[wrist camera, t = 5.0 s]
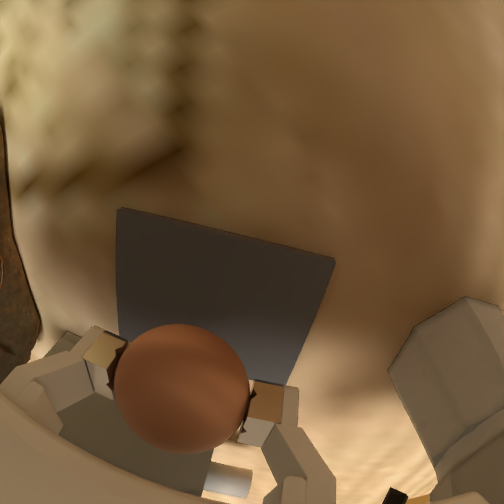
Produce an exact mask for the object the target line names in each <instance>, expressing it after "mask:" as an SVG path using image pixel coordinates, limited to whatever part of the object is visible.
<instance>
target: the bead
mask: <svg viewBox="0 0 504 504" xmlns="http://www.w3.org/2000/svg"><path fill="white" fill-rule="evenodd" d="M114 392H115V398H116V402H117V405H118V408H119V411H120V413H121V415H122V417H123V419H124V420H125V422H126V423H127V425H128V426H129V427H130V428H131V430H132V431H133V432H134V433H135V434H136V435H138V436H139V437H140V438H141V439H142V440H144V441H145V442H147V443H148V444H150V445H152V446H154V447H156V448H158V449H161V450H164V451H167V452H171V453H179V454H193V453H200V452H204V451H208V450H210V449H213V448H215V447H217V446H219V445H220V444H222V443H223V442H225V441H226V440H228V439H229V438H230V437H231V436H232V435H233V434H234V433H235V432H236V431H237V429H238V428H239V427H240V425H241V423H242V421H243V419H244V417H245V415H246V411H247V408H248V405H249V398H250V387H249V381H248V376H247V373H246V370H245V367H244V365H243V363H242V361H241V360H240V358H239V356H238V355H237V354H236V352H235V351H234V350H233V348H232V347H231V346H230V345H229V344H228V343H226V342H225V341H224V340H223V339H221V338H220V337H218V336H217V335H216V334H214V333H212V332H210V331H208V330H206V329H203V328H200V327H197V326H192V325H186V324H169V325H163V326H159V327H156V328H153V329H151V330H149V331H147V332H145V333H143V334H142V335H140V336H139V337H137V338H136V339H135V340H134V341H133V342H132V343H131V344H130V345H129V346H128V347H127V348H126V350H125V351H124V353H123V354H122V356H121V358H120V360H119V363H118V365H117V368H116V372H115V377H114Z"/></svg>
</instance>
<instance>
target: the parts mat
mask: <svg viewBox="0 0 504 504" xmlns="http://www.w3.org/2000/svg"><path fill="white" fill-rule="evenodd" d="M334 266H335V260H334V258H330V257H326V256H322V255H318V254H314V253H311V252H307V251H303V250H299V249H295V248H291V247H287V246H283V245H279V244H275V243H271V242H267V241H263V240H258V239H254V238H250V237H246V236H242V235H238V234H234V233H230V232H226V231H222V230H217V229H213V228H209V227H205V226H201V225H197V224H192V223H188V222H184V221H180V220H175V219H171V218H167V217H163V216H158V215H154V214H150V213H145V212H141V211H137V210H132V209H128V208H124V207H122V208H120V209H118V210H117V221H116V291H117V310H118V324H119V335H120V337H122V338H125V339H127V340H129V341H131V343H132V342H133V341H134V340H135V339H136V338H137V337H139V336H140V335H142V334H143V333H145V332H147V331H149V330H151V329H153V328H156V327H159V326H163V325H169V324H186V325H192V326H197V327H200V328H203V329H206V330H208V331H210V332H212V333H214V334H216V335H217V336H218V337H220V338H221V339H223V340H224V341H225V342H226V343H228V344H229V345H230V346H231V347H232V348H233V350H234V351H235V352H236V354H237V355H238V356H239V358H240V360H241V361H242V363H243V365H244V367H245V370H246V373H247V376H248V379H249V380H253V381H254V379H258V380H263V381H268V382H273V383H278V384H283V385H286V383H287V381H288V378H289V376H290V374H291V372H292V370H293V368H294V365H295V363H296V361H297V359H298V356H299V354H300V352H301V350H302V347H303V345H304V343H305V340H306V338H307V336H308V333H309V331H310V328H311V326H312V323H313V321H314V319H315V316H316V314H317V311H318V309H319V306H320V304H321V301H322V298H323V296H324V293H325V291H326V288H327V285H328V283H329V280H330V277H331V275H332V272H333V269H334Z"/></svg>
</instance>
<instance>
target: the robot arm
mask: <svg viewBox="0 0 504 504" xmlns="http://www.w3.org/2000/svg"><path fill="white" fill-rule="evenodd" d="M130 344H131V341H129V340H127V339H125V338H122V337H120V336H118V335H116V334H113V333H111V332H109V331H107V330H104V329H102V328H100V327H97V326H93V327H91V328H90V329H89V330H88V332H87V333H86V334H85V335H84V336H83V337H82V338H81V339H80V341H79V342H78V343H77V344H76V345H75V346H74V347H73V349H72V350H71V351H70V352H68V351H64V352H61V353H58V354H54V355H51V356H48V357H45V358H42V359H39V360H36V361H33V362H30V363H26V364H23V365H20V366H17V367H15V369H14V370H13V371H12V372H11V373H10V374H9V375H8V376H7V377H6V379H5V380H4V381H3V382H2V383H1V384H0V504H229V503H224V502H219V501H215V500H211V499H207V498H203V497H199V496H195V495H192V494H188V493H185V492H182V491H178V490H175V489H172V488H169V487H166V486H163V485H160V484H157V483H155V482H152V481H149V480H147V479H144V478H142V477H139V476H137V475H134V474H132V473H129V472H127V471H125V470H123V469H120V468H118V467H116V466H114V465H112V464H110V463H108V462H106V461H104V460H101V459H100V458H98V457H96V456H94V455H92V454H90V453H88V452H86V451H84V450H83V449H81V448H79V447H77V446H76V445H74V444H72V443H70V442H69V441H67V440H65V439H64V438H62V437H61V436H59V435H58V434H59V432H60V430H61V429H62V427H63V423H62V421H61V419H60V417H59V416H58V414H57V412H58V411H60V410H62V409H64V408H66V407H68V406H70V405H72V404H74V403H76V402H78V401H80V400H82V399H84V398H85V397H87V396H89V395H91V394H93V393H94V392H96V393H98V394H100V395H103V396H105V397H107V398H109V399H112V400H115V392H114V377H115V372H116V368H117V365H118V363H119V360H120V358H121V356H122V354H123V353H124V351H125V350H126V348H127V347H128V346H129V345H130ZM298 406H299V389H298V388H297V387H292V386H287V385H283V384H278V383H273V382H268V381H263V380H258V379H254V381H253V384H252V387H251V392H250V398H249V405H248V408H247V411H246V415H245V417H244V419H243V421H242V424H241V427H240V431H239V436H238V441H237V442H239V443H243V444H248V445H252V446H257V447H261V450H262V452H263V454H264V456H265V458H266V461H267V463H268V465H269V467H270V469H271V471H272V474H273V476H274V478H275V480H276V482H277V484H278V485H277V486H276V487H275V488H274V489H273V490H272V491H271V492H270V493H269V494H267V495H266V496H265V497H264V499H263V504H336V478H335V476H334V475H333V474H332V472H331V471H330V469H329V468H328V466H327V465H326V463H325V462H324V460H323V459H322V458H321V456H320V455H319V453H318V452H317V450H316V449H315V447H314V446H313V444H312V443H311V441H310V440H309V438H308V437H307V435H306V434H305V432H304V430H303V429H302V428H300V427H297V426H298ZM425 504H490V503H489V502H488V501H487V500H486V499H485V498H484V497H483V496H481V495H480V494H479V493H478V492H474V491H471V492H467V493H463V494H460V495H457V496H453V497H450V498H446V499H442V500H438V501H434V502H430V503H425Z"/></svg>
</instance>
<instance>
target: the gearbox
mask: <svg viewBox="0 0 504 504" xmlns="http://www.w3.org/2000/svg"><path fill="white" fill-rule="evenodd" d="M80 339H81V337H79V336H77V335H74V334H72V333H70V332H68V331H67V333H66V334H65V335H64V336H63V337H62V338H61V339H60V340H59V341H58V342H57V343H56V344H55V345H54V346H53V347H52V349H51V350H50V351H49V352H48V353H47V354H46V355H45V356H44V357H43V358H45V357H48V356H51V355H54V354H58V353H61V352H64V351H68V352H70V351H71V350H72V349H73V347H74V346H75V345H76V344H77V343H78V342H79V341H80ZM57 414H58V416H59V417H60V419H61V421H62V423H63V427H62V429H61V430H60V432H59V434H58V435H59V436H61V437H62V438H64V439H65V440H67V441H69V442H70V443H72V444H74V445H76V446H77V447H79V448H81V449H83V450H84V451H86V452H88V453H90V454H92V455H94V456H96V457H98V458H100V459H101V460H104V461H106V462H108V463H110V464H112V465H114V466H116V467H118V468H120V469H123V470H125V471H127V472H129V473H132V474H134V475H137V476H139V477H142V478H144V479H147V480H149V481H152V482H155V483H157V484H160V485H163V486H166V487H169V488H172V489H175V490H178V491H182V492H185V493H188V494H192V495H195V496H199V497H201V495H202V491H203V490H206V491H210V492H215V493H219V494H224V495H229V496H234V497H240V498H246V497H247V495H248V493H249V490H250V486H251V481H252V470H249V469H244V468H239V467H234V466H229V465H224V464H220V463H216V462H212V461H211V457H212V454H213V450H214V448H213V449H210V450H208V451H204V452H200V453H193V454H179V453H171V452H167V451H164V450H161V449H158V448H156V447H154V446H152V445H150V444H148V443H147V442H145V441H144V440H142V439H141V438H140V437H139V436H138V435H136V434H135V433H134V432H133V431H132V430H131V428H130V427H129V426H128V425H127V423H126V422H125V420H124V419H123V417H122V415H121V413H120V411H119V408H118V405H117V402H116V398H115V400H112V399H109V398H107V397H105V396H103V395H100V394H98V393H96V392H94V393H93V394H91V395H89V396H87V397H85V398H84V399H82V400H80V401H78V402H76V403H74V404H72V405H70V406H68V407H66V408H64V409H62V410H60V411H58V412H57Z"/></svg>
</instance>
